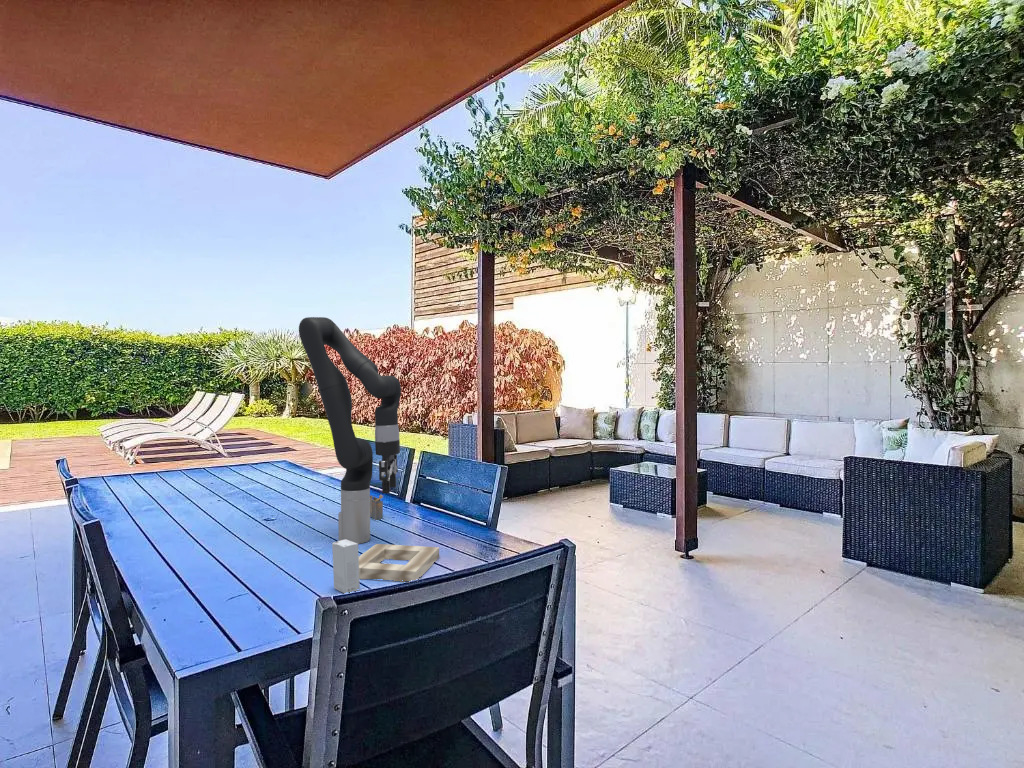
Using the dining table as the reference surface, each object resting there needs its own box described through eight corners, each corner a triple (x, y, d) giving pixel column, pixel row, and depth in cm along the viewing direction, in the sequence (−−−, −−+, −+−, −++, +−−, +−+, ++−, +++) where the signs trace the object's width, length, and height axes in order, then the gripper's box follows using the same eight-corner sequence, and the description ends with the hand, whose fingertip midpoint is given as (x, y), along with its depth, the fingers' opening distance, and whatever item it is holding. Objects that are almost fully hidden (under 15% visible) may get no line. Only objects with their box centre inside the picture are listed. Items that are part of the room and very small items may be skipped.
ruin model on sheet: (383, 521, 215) (383, 495, 215) (376, 522, 213) (375, 496, 213) (373, 514, 224) (373, 490, 224) (365, 515, 223) (365, 490, 222)
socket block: (344, 578, 155) (344, 567, 155) (376, 553, 176) (376, 543, 176) (415, 582, 152) (415, 571, 152) (439, 557, 172) (439, 547, 172)
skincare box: (360, 590, 147) (360, 543, 146) (344, 595, 143) (344, 547, 143) (347, 584, 151) (347, 538, 150) (332, 588, 147) (331, 542, 147)
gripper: (381, 436, 188) (383, 486, 189) (369, 442, 174) (371, 495, 175) (403, 436, 188) (406, 485, 189) (394, 441, 174) (396, 494, 174)
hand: (389, 490), depth 182 cm, fingers open, 8 cm apart
